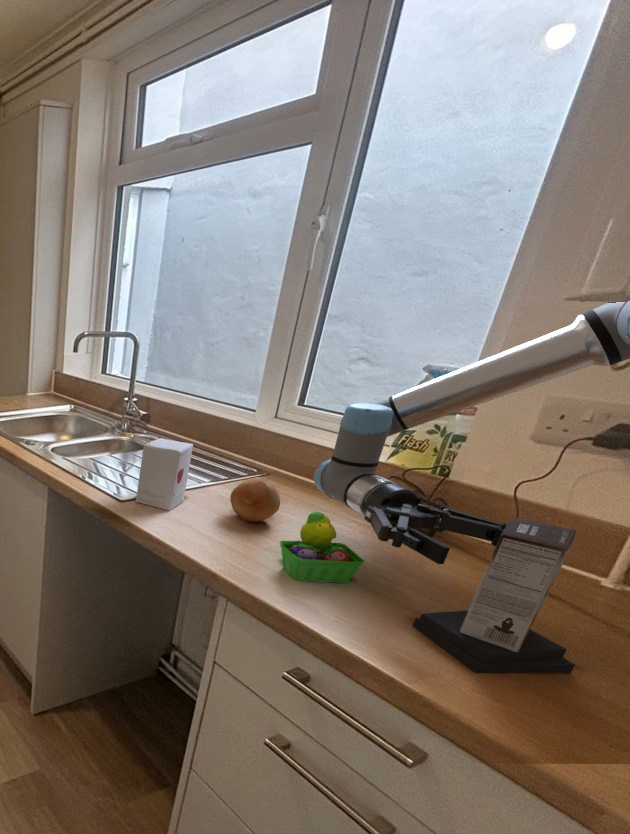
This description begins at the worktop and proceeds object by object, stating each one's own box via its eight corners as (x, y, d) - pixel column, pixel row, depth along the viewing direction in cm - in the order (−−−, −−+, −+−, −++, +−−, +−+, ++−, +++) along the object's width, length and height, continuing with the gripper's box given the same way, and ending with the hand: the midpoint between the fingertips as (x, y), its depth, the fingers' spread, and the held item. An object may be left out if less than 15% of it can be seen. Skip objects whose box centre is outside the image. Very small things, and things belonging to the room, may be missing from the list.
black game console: (494, 624, 83) (501, 608, 81) (570, 673, 72) (580, 655, 71) (408, 624, 83) (414, 608, 82) (472, 673, 72) (480, 655, 71)
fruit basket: (290, 583, 95) (305, 526, 90) (270, 560, 103) (283, 507, 98) (359, 587, 93) (378, 530, 89) (333, 564, 101) (349, 510, 97)
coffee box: (470, 609, 81) (511, 514, 75) (528, 628, 77) (577, 529, 71) (457, 633, 76) (500, 532, 70) (519, 654, 71) (571, 549, 65)
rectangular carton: (170, 511, 126) (179, 451, 120) (134, 502, 131) (142, 444, 126) (184, 501, 132) (194, 443, 126) (150, 492, 137) (158, 437, 132)
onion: (224, 509, 127) (232, 469, 123) (270, 514, 124) (280, 474, 120) (229, 524, 118) (237, 483, 115) (279, 530, 115) (289, 488, 111)
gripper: (445, 520, 98) (566, 578, 78) (309, 520, 98) (397, 578, 78) (459, 482, 95) (589, 532, 75) (320, 482, 95) (413, 532, 75)
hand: (491, 556), depth 77 cm, fingers open, 13 cm apart
